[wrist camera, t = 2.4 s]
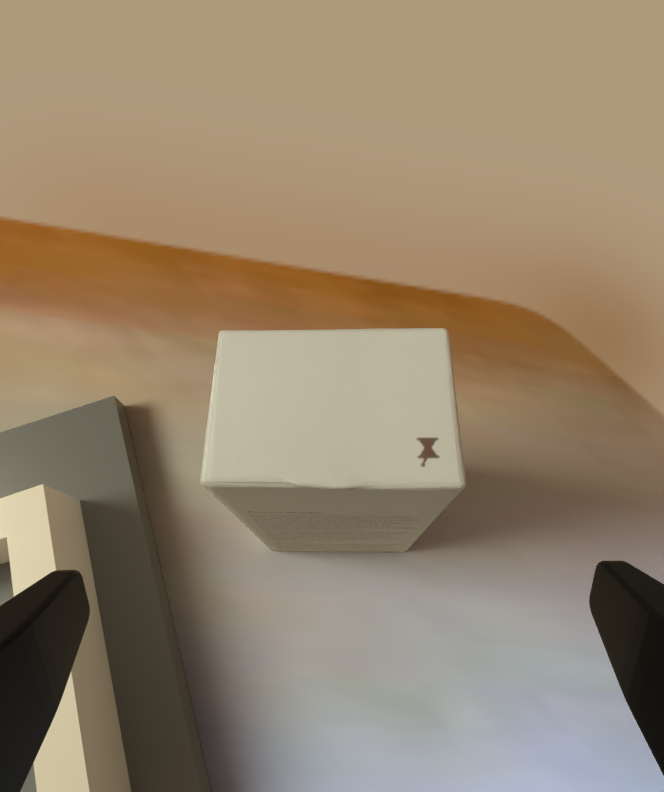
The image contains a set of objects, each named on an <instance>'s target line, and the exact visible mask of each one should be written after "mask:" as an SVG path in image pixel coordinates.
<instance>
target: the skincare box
mask: <svg viewBox="0 0 664 792" xmlns="http://www.w3.org/2000/svg"><path fill="white" fill-rule="evenodd" d="M201 484H202V485H203V486H204V487H205V488H206V489H207V490H208V491H210V492H211V493H212V494H213V495H214V496H215V497H216V498H217V499H218V500H219V501H220V502H221V503H223V504H224V505H225V506H226V507H227V508H228V509H229V510H230V511H231V512H232V513H233V514H234V515H235V516H236V517H237V518H238V519H240V521H241V522H242V523H244V524H245V525H246V526H247V527H248V528H249V529H250V530H251V531H252V532H253V533H254V534H255V535H256V536H257V537H258V538H259V539H260V540H261V541H262V542H263V543H264V544H265V545H266V546H267V547H268V548H269V549H271V550H272V551H336V552H406V551H407V550H408V549H409V548H410V547H411V546H412V544H413V543H414V542H415V541H416V540H417V539H418V538H419V537H420V536H421V534H423V532H424V531H425V530H426V529H427V528H428V527H429V526H430V525H431V524H432V523H433V522H434V520H435V519H436V518H437V517H438V516H439V515H440V514H441V513H442V512H443V510H444V509H445V508H446V507H447V506H448V505H449V504H450V503H451V502H452V501H453V500H454V499H455V498H456V497H457V496H458V495H459V493H460V492H461V491H462V490H463V489H464V488H465V486H466V477H465V469H464V461H463V453H462V445H461V437H460V428H459V420H458V411H457V402H456V394H455V385H454V376H453V367H452V358H451V349H450V339H449V333H448V330H446V329H444V328H417V329H335V330H263V331H249V330H240V331H232V330H222V331H220V332H219V335H218V345H217V352H216V360H215V367H214V375H213V383H212V391H211V399H210V408H209V415H208V422H207V429H206V438H205V446H204V454H203V463H202V471H201Z"/></svg>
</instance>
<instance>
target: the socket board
mask: <svg viewBox="0 0 664 792" xmlns="http://www.w3.org/2000/svg"><path fill="white" fill-rule="evenodd" d="M56 570H77V571H79V572H80V573H81V574H82V577H83V581H84V585H85V589H86V593H87V597H88V601H89V605H90V615H89V620H88V623H87V626H86V629H85V632H84V635H83V638H82V641H81V644H80V647H79V650H78V653H77V655H76V658H75V661H74V664H73V667H72V670H71V673H70V676H69V679H68V682H67V685H66V688H65V690H64V693H63V696H62V699H61V701H60V704H59V707H58V709H57V712H56V714H55V716H54V719H53V721H52V723H51V726H50V728H49V730H48V732H47V734H46V736H45V739H44V741H43V743H42V745H41V747H40V750H39V752H38V754H37V756H36V758H35V761H34V763H33V765H32V767H31V769H30V771H29V774H28V776H27V778H26V780H25V782H24V785H23V787H22V789H21V791H20V792H211V787H210V783H209V779H208V774H207V770H206V765H205V761H204V757H203V752H202V748H201V743H200V739H199V735H198V730H197V726H196V721H195V717H194V712H193V708H192V704H191V699H190V695H189V690H188V686H187V682H186V677H185V673H184V668H183V664H182V659H181V655H180V651H179V646H178V642H177V637H176V633H175V629H174V624H173V620H172V615H171V611H170V607H169V602H168V598H167V593H166V589H165V584H164V580H163V576H162V571H161V567H160V562H159V558H158V554H157V549H156V545H155V540H154V536H153V531H152V527H151V523H150V518H149V514H148V509H147V505H146V501H145V496H144V492H143V487H142V483H141V479H140V474H139V470H138V465H137V461H136V456H135V452H134V448H133V443H132V439H131V434H130V430H129V426H128V421H127V417H126V412H125V408H124V405H123V404H122V403H121V402H120V401H119V400H118V399H117V398H116V397H115V396H112V397H109V398H106V399H103V400H100V401H97V402H94V403H91V404H88V405H84V406H81V407H78V408H75V409H72V410H69V411H66V412H63V413H60V414H57V415H54V416H50V417H47V418H44V419H41V420H38V421H35V422H32V423H29V424H26V425H23V426H20V427H17V428H13V429H10V430H7V431H4V432H1V433H0V605H2V604H3V603H5V602H7V601H8V600H10V599H11V598H13V597H14V596H16V595H17V594H19V593H20V592H22V591H23V590H25V589H26V588H28V587H29V586H31V585H32V584H34V583H36V582H37V581H39V580H40V579H42V578H43V577H45V576H46V575H48V574H49V573H51V572H53V571H56Z"/></svg>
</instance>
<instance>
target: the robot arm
mask: <svg viewBox="0 0 664 792" xmlns="http://www.w3.org/2000/svg"><path fill="white" fill-rule="evenodd" d="M589 603H590V609H591V613H592V616H593V618H594V621H595V623H596V626H597V628H598V631H599V634H600V636H601V639H602V641H603V644H604V646H605V649H606V652H607V654H608V657H609V659H610V662H611V664H612V667H613V670H614V672H615V675H616V677H617V680H618V682H619V685H620V687H621V690H622V692H623V694H624V697H625V699H626V701H627V703H628V706H629V708H630V710H631V712H632V714H633V716H634V718H635V720H636V722H637V724H638V726H639V728H640V730H641V732H642V734H643V736H644V738H645V740H646V742H647V744H648V746H649V747H650V749H651V751H652V753H653V755H654V757H655V759H656V761H657V763H658V765H659V767H660V769H661V771H662V773H663V775H664V584H662V583H660V582H659V581H657V580H655V579H654V578H652V577H650V576H649V575H647V574H645V573H644V572H642V571H640V570H639V569H637V568H635V567H634V566H632V565H630V564H629V563H627V562H624V561H601V562H599V563H598V565H597V566H596V569H595V574H594V579H593V583H592V588H591V593H590V599H589ZM89 615H90V605H89V601H88V597H87V593H86V589H85V585H84V581H83V577H82V574H81V573H80V572H79V571H77V570H56V571H53V572H51V573H49V574H48V575H46V576H45V577H43V578H42V579H40V580H39V581H37V582H36V583H34V584H32V585H31V586H29V587H28V588H26V589H25V590H23V591H22V592H20V593H19V594H17V595H16V596H14V597H13V598H11V599H10V600H8V601H7V602H5V603H3V604H2V605H0V792H20V791H21V789H22V787H23V785H24V782H25V780H26V778H27V776H28V774H29V771H30V769H31V767H32V765H33V763H34V761H35V758H36V756H37V754H38V752H39V750H40V747H41V745H42V743H43V741H44V739H45V736H46V734H47V732H48V730H49V728H50V726H51V723H52V721H53V719H54V716H55V714H56V712H57V709H58V707H59V704H60V701H61V699H62V696H63V693H64V690H65V688H66V685H67V682H68V679H69V676H70V673H71V670H72V667H73V664H74V661H75V658H76V655H77V653H78V650H79V647H80V644H81V641H82V638H83V635H84V632H85V629H86V626H87V623H88V620H89Z"/></svg>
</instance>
